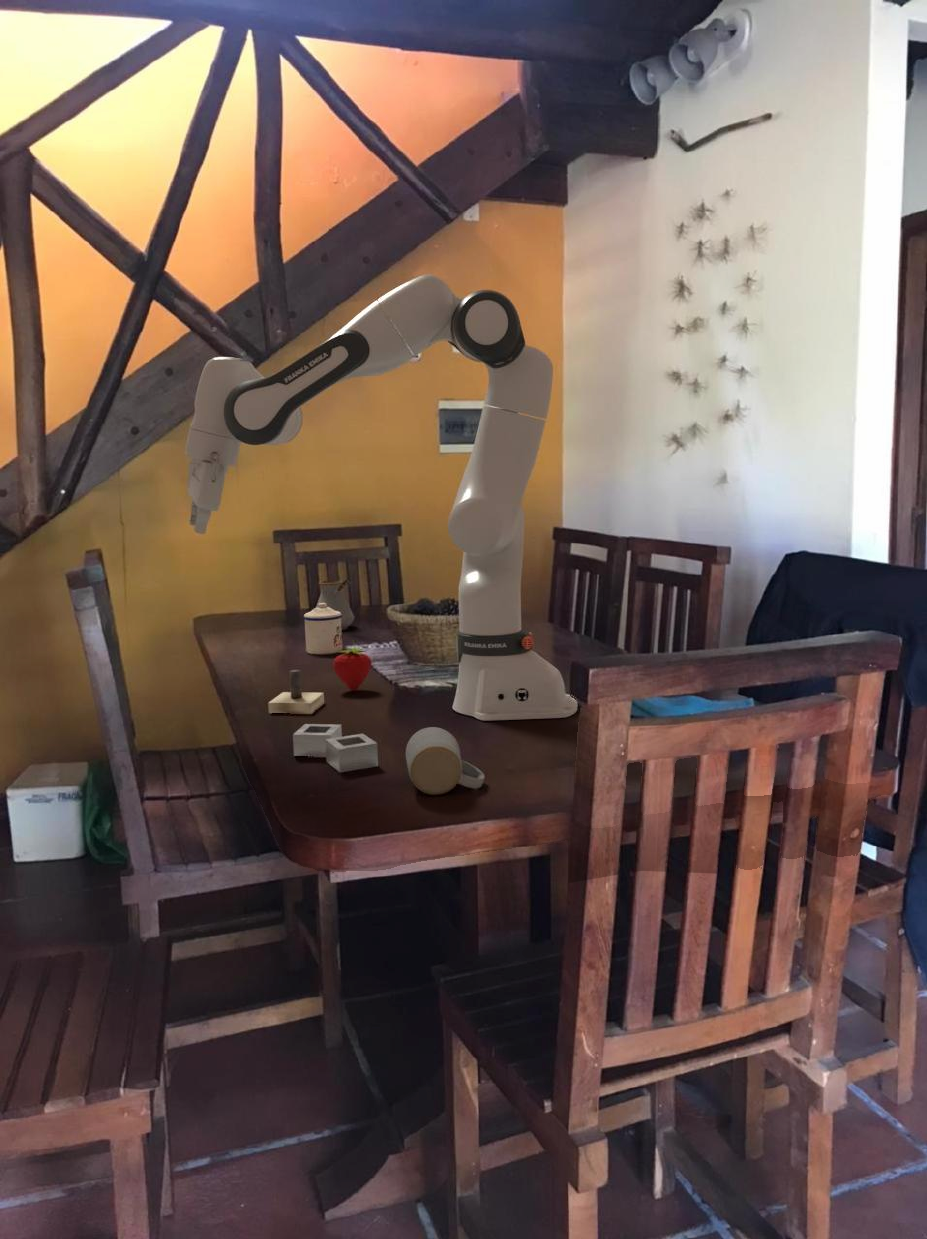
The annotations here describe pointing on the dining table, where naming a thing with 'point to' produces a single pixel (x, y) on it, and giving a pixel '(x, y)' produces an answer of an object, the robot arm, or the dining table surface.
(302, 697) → the block
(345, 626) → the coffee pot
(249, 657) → the dining table surface
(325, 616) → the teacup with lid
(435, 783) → the ceramic mug
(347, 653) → the strawberry
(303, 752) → the end link
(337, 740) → the white square box
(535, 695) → the robot arm
